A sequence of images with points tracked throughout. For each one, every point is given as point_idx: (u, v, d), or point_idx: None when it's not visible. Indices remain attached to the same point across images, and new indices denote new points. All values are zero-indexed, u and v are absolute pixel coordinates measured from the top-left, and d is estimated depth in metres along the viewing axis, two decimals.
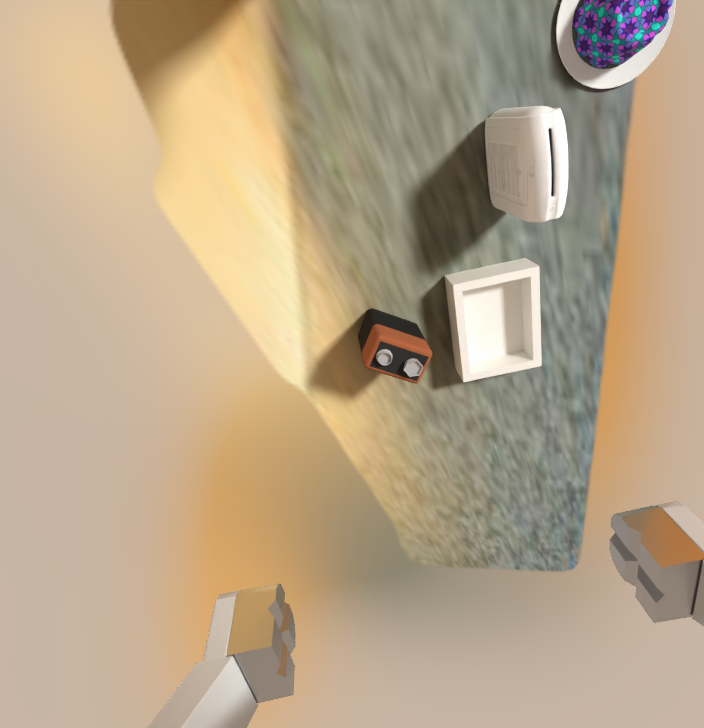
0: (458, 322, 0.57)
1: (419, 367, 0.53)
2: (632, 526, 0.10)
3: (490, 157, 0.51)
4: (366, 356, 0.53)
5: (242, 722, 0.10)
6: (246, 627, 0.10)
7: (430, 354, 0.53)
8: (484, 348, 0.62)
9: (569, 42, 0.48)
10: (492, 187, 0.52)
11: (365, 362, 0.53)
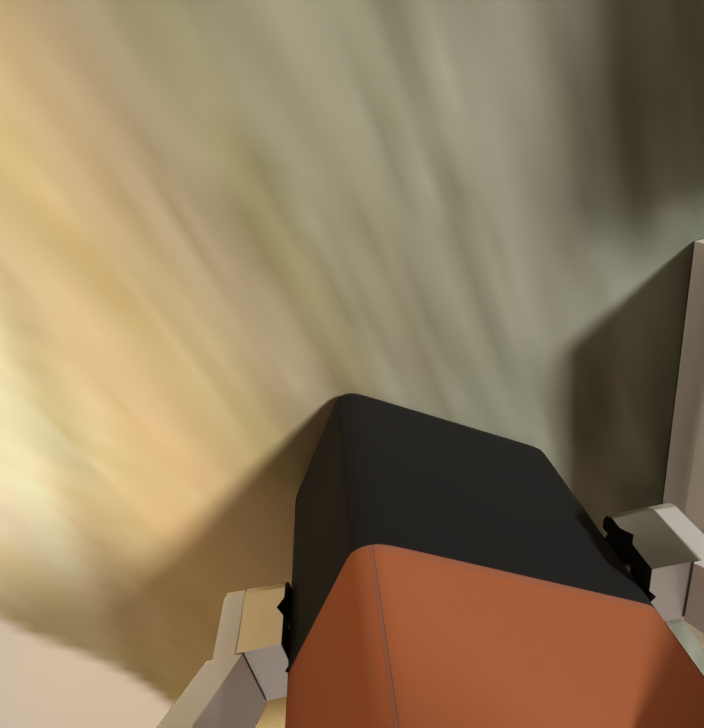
0: None
1: None
2: (624, 528, 0.11)
3: None
4: None
5: (252, 720, 0.10)
6: (255, 625, 0.10)
7: None
8: None
9: None
10: None
11: None
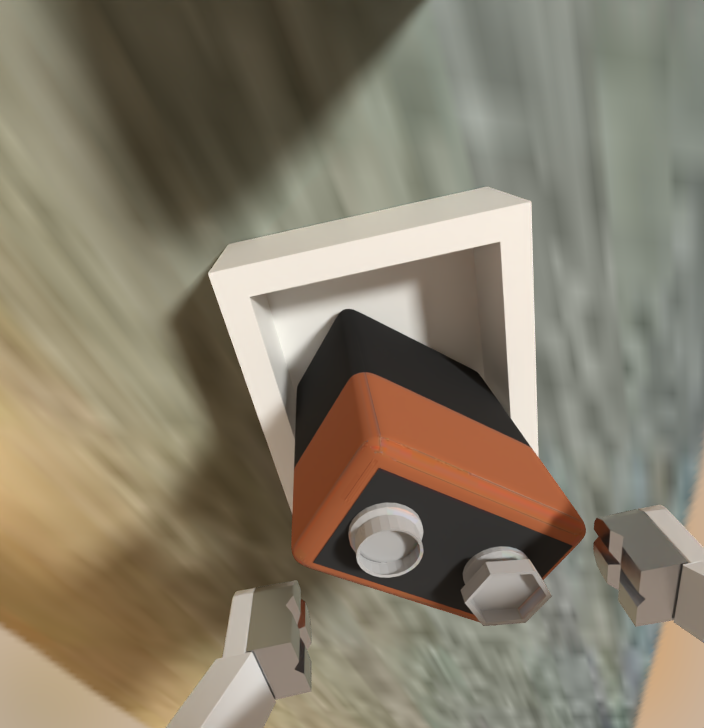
0: (258, 401, 0.17)
1: (530, 589, 0.12)
2: (614, 530, 0.11)
3: None
4: (305, 513, 0.12)
5: (261, 718, 0.10)
6: (265, 623, 0.10)
7: (580, 535, 0.12)
8: None
9: None
10: None
11: (297, 541, 0.12)
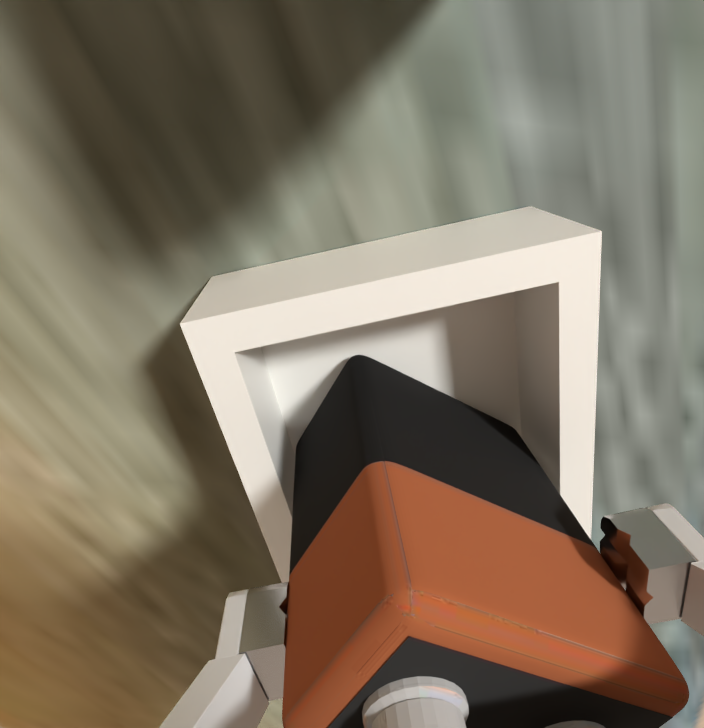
0: (246, 477, 0.13)
1: None
2: (621, 528, 0.11)
3: None
4: (302, 669, 0.09)
5: (254, 720, 0.10)
6: (257, 625, 0.10)
7: (683, 702, 0.09)
8: None
9: None
10: None
11: (290, 713, 0.08)
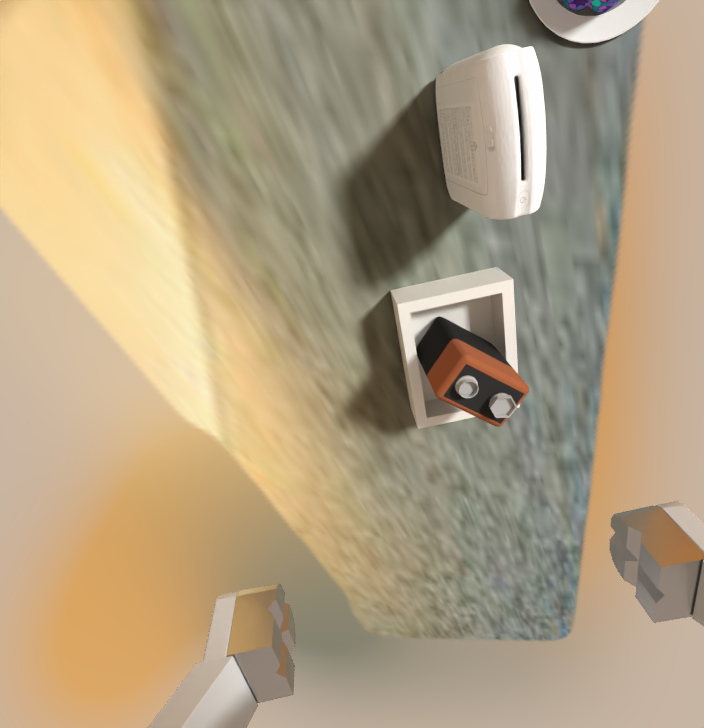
0: (407, 353, 0.43)
1: (510, 406, 0.38)
2: (632, 526, 0.10)
3: (443, 130, 0.36)
4: (439, 382, 0.38)
5: (242, 722, 0.10)
6: (246, 627, 0.10)
7: (527, 390, 0.38)
8: None
9: None
10: (447, 171, 0.38)
11: (437, 390, 0.38)
